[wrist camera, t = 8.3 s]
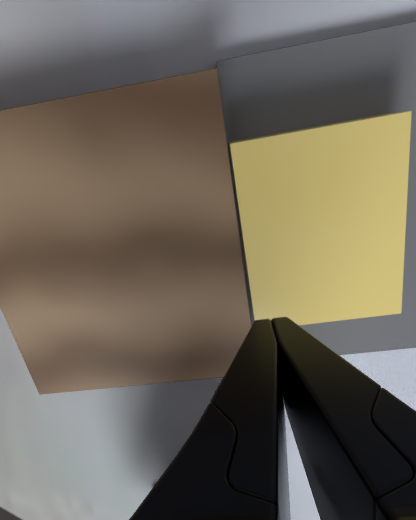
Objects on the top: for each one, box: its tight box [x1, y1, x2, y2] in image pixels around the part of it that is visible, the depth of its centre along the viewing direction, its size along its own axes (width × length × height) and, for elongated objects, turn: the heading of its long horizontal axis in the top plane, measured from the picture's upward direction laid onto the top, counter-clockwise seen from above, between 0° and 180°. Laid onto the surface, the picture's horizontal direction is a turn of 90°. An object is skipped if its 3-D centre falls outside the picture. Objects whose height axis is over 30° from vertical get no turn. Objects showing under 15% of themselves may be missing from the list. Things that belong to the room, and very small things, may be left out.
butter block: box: [229, 111, 412, 325], centre depth 15 cm, size 9×7×2 cm
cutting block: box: [0, 68, 251, 394], centre depth 17 cm, size 15×13×2 cm
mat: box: [216, 22, 416, 355], centre depth 16 cm, size 16×15×1 cm
